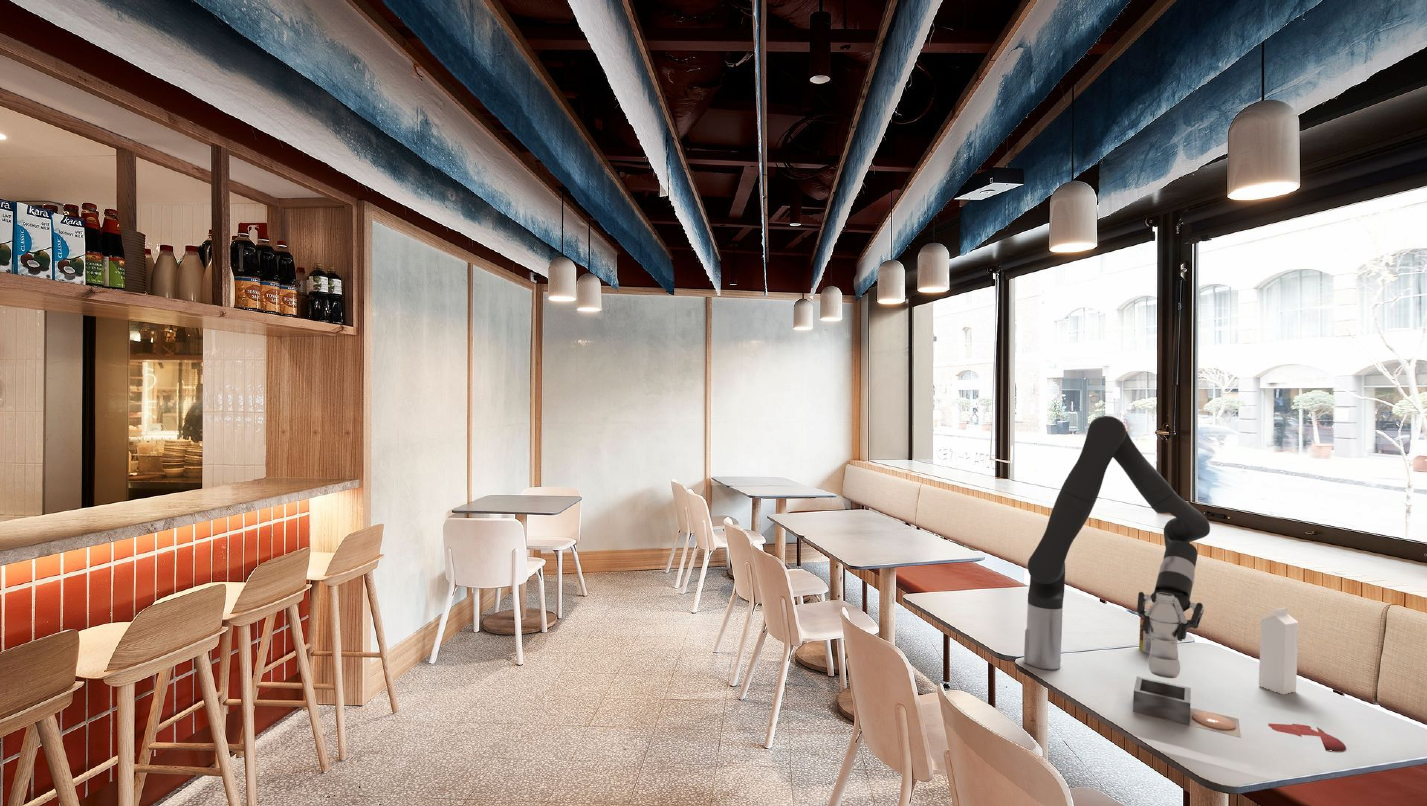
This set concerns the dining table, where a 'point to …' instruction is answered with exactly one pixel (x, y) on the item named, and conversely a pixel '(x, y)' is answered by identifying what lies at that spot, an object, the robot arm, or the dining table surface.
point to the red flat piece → (1299, 730)
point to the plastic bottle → (1164, 637)
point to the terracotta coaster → (1213, 721)
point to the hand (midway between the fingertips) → (1162, 635)
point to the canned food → (1144, 638)
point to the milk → (1278, 652)
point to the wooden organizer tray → (1171, 704)
